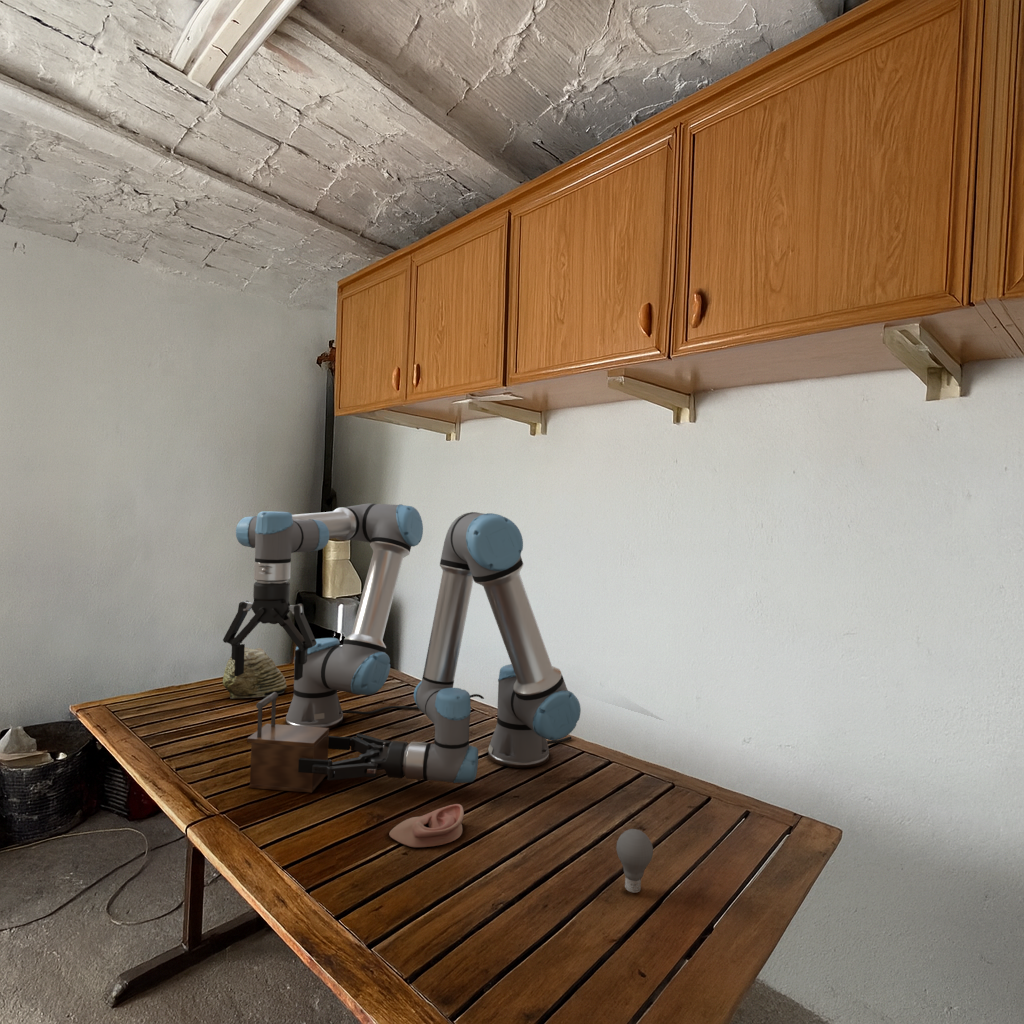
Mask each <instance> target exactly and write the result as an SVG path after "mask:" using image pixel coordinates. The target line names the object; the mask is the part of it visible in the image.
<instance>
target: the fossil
mask: <svg viewBox="0 0 1024 1024" xmlns="http://www.w3.org/2000/svg"><path fill="white" fill-rule="evenodd" d="M234 672H235V660H232V658H231V656H230V657H229V659H228V660H227V663H226V666H225V668H224V671H223V675H222V676H223V677H222V685H223V687H224V688H225V690H226V691H228V693H229V698H230V699H250V698H266V697H267V696H269V695H270V694H272V693H273V692H276V693H278V695H281V694H284V693H285V691H286V689H287V687H288V686H287V680H286V678H285V676H284V674H283V673H282V672H281V669H279V668H278V667H277V665H276V663H275V662H274V660H273V659H272V658H271V657H270V656H269V655H268V654H267V653H266V652H265V650H264V649H263V648H260V647H258V648H251V647H247V646H246V647H245V652H244V673H243V674H241V675H239V676H234Z"/></svg>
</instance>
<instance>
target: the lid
mask: <svg viewBox="0 0 1024 1024" xmlns="http://www.w3.org/2000/svg"><path fill="white" fill-rule="evenodd" d="M278 698H279V694H278V693H276V692H273V693H272V694H270V695H269V696H265V697H263V699H261V700H260V701H258V702H257V703H256V704H255V705H256V706H255V707H256V709H257V730H256V731H255V732H254V733H252V734H251V735H250V736H248V737H247V738H246V743H262V744H276V745H290V746H303V747H314V746H315V745H316V744H317V743H318V742H319V741H320V740H321V739H322V738H323V737H324V736H325V735H326V734H327V733H328V732H329V733H330V729H329V728H321V727H307V726H293V725H286V724H279V723H278V724H277V723H276V716H277V715H276V712H277V699H278ZM269 704H271V716H270V717H271V719H270V723H265V724H264V725H263V708H265V707H266V706H268V705H269Z"/></svg>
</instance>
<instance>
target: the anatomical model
mask: <svg viewBox="0 0 1024 1024" xmlns="http://www.w3.org/2000/svg"><path fill="white" fill-rule="evenodd" d="M464 816H465V811H464V807H463V805H461V804H460V803H454V804H450V805H449V804H448V805H446V806H443V807H440V808H437V809H435V810H433V811H431V812H428V813H426V814H423V815H420V816H412V817H409V818H407V819H404V820H403V821H401V822H400V823H398V824H396V825H395V826H394V827H393V828H392V829H391V830H390V831H389V835H388V836H389V837H390V838H391V839H392V840H394V841H396V842H398V843H399V844H402V845H404V846H406V847H411V848H427V847H436V846H437V847H438V846H442V845H446V844H449V843H452V842H453V841H456V840H457V839H459V838H461V836H462V834H463V825H462V823H463V821H464Z"/></svg>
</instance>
